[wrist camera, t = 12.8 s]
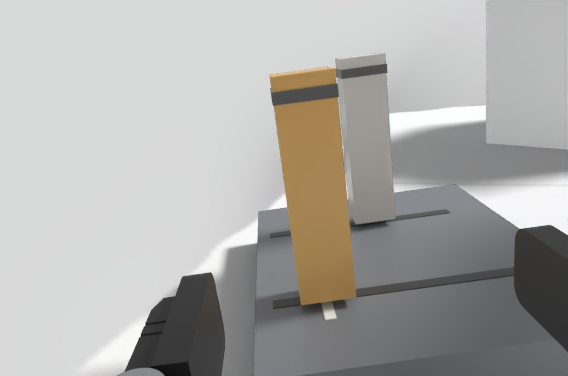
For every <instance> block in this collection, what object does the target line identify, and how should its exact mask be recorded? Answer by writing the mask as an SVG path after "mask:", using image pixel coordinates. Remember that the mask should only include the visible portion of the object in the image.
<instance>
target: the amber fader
mask: <svg viewBox="0 0 568 376" xmlns="http://www.w3.org/2000/svg"><path fill="white" fill-rule="evenodd" d="M270 82H271V88H270V90H271V97H272V103H273V106H274V112H275V119H276V126H277V134H278V141H279V149H280V156H281V163H282V171H283V178H284V185H285V193H286V200H287V208H288V215H289V222H290V230H291V237H292V244H293V252H294V259H295V266H296V274H297V281H298V288H299V295H300V302H301V305H308V304H315V303H322V302H329V301H337V300H344V299H351V298H356V287H355V277H354V266H353V255H352V245H351V234H350V223H349V213H348V202H347V191H346V181H345V170H344V159H343V149H342V138H341V128H340V117H339V107H338V97H339V93H338V84H337V83H336V74H335V68H331V67H321V68H315V69H308V70H300V71H293V72H286V73H277V74H271V75H270Z"/></svg>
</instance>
